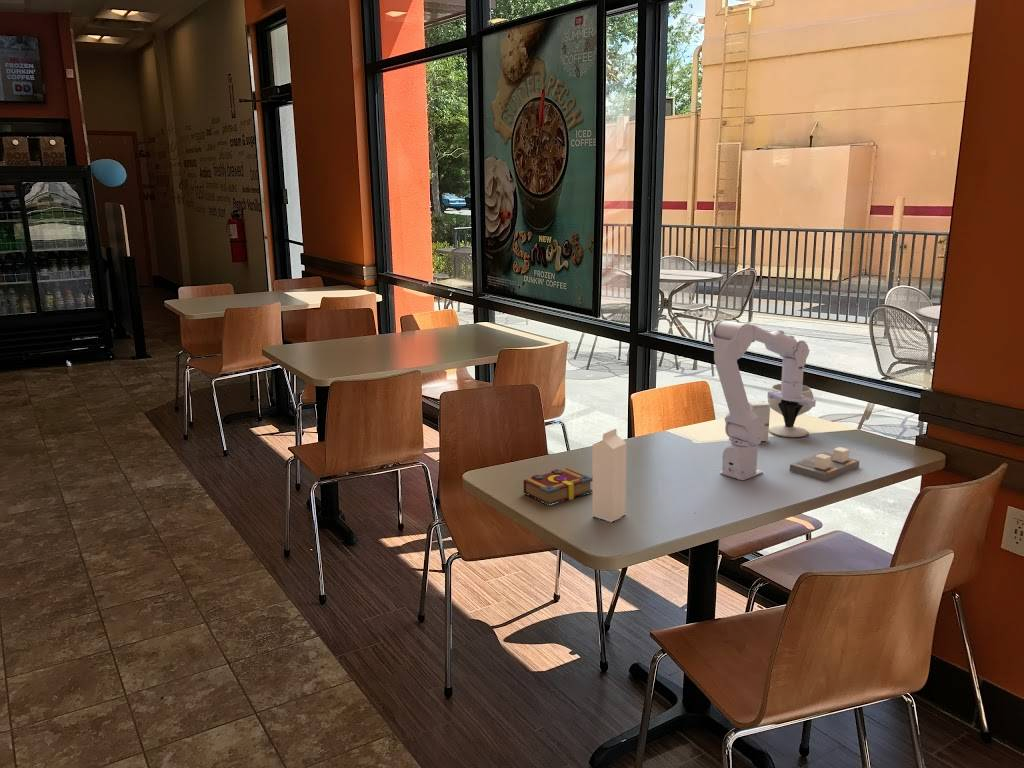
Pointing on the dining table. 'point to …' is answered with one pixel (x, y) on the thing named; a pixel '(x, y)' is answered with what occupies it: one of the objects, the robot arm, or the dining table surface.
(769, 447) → the dining table surface
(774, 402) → the chalice
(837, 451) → the cream cube
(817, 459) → the cream white cube
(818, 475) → the switch board
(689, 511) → the dining table surface
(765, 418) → the skincare box
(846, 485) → the dining table surface
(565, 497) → the decorative book
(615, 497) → the milk
